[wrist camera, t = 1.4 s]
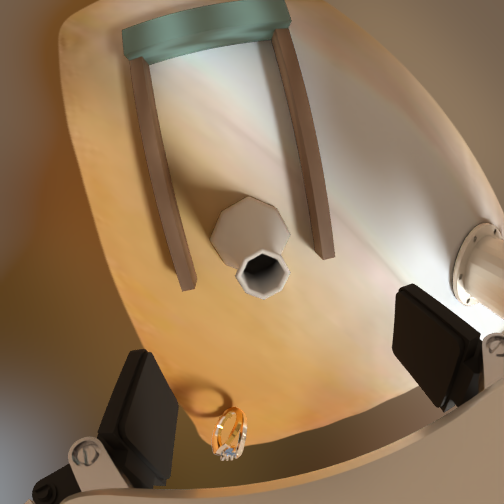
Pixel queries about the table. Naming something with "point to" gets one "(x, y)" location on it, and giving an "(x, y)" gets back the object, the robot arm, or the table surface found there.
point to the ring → (239, 424)
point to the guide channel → (207, 37)
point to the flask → (253, 246)
